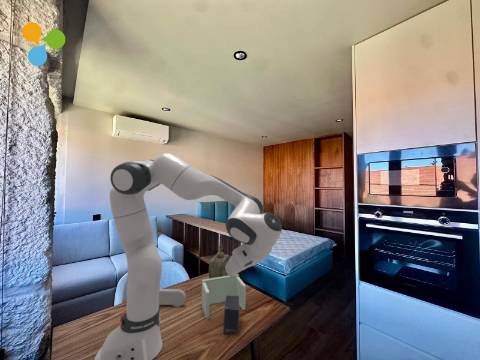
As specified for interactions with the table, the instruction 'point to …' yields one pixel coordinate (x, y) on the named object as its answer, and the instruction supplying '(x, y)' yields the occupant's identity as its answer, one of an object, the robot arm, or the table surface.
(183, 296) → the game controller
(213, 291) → the rack
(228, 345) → the table surface
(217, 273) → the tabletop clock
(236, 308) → the small box
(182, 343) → the table surface
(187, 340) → the table surface
